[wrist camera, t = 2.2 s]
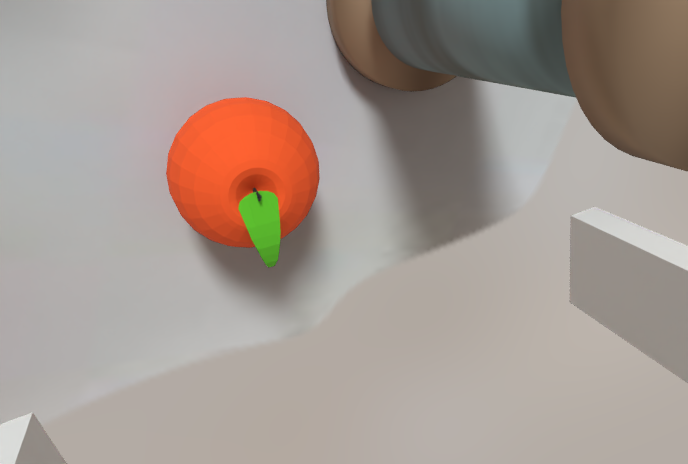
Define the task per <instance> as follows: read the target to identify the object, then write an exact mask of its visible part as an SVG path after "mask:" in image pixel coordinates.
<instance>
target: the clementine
mask: <svg viewBox="0 0 688 464" xmlns="http://www.w3.org/2000/svg"><path fill="white" fill-rule="evenodd" d="M166 175H167V180H168V185H169V191H170V194H171V196H172V198H173V200H174V202H175V204H176V206H177V208H178V210H179V212H180V214H181V216H182V217H183V218H184V219H185V220H186V221H187V222H188V223H189V224H190V226H191V227H192V228H193V229H194V230H195V231H197V232H199V233H200V234H202V235H203V236H205V237H206V238H208V239H210V240H212V241H215V242H218V243H221V244H224V245H227V246H234V247H249V248H250V247H256V248H257V250H258V252H259V254H260V256H261V258H262V259H263V261H264V263H265V264H266V265H267V266H268V268H269V267H272V266H275V264H276V262H277V261H278V256H279V248H280V239H281V238H283V237H285V236H286V235H287V234H289V233H290V232H291V231H293V230H294V229H295V228H296V227H297V226H298V225H299V224H300V223H301V222H302V220H303V219H304V218H305V217H306V216H307V214H308V212H309V210H310V208H311V206H312V204H313V201H314V199H315V197H316V193H317V188H318V184H319V161H318V158H317V155H316V152H315V149H314V146H313V143H312V141H311V140H310V138H309V136H308V135H307V133H306V132H305V130H304V129H303V127H302V126H301V124H300V123H299V122H298V121H297V120H296V119H295V118H293V117H292V116H291V115H290V114H289V113H288V112H287V111H285V110H284V109H282V108H280V107H278V106H276V105H273V104H271V103H269V102H267V101H263V100H257V99H252V98H231V99H223V100H220V101H218V102H215V103H212V104H209V105H207V106H205V107H203V108H202V109H201V110H199V111H198V112H196V113H195V114H194V115H192V116H191V117H190V118H189V119H188V120H187V122H186V123H185V124H184V125H183V127H182V128H181V129H180V130H179V132H178V133H177V134H176V136H175V139H174V141H173V144H172V146H171V149H170V151H169V153H168V162H167V172H166Z"/></svg>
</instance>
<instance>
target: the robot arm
mask: <svg viewBox="0 0 688 464" xmlns="http://www.w3.org/2000/svg"><path fill="white" fill-rule="evenodd" d="M570 234H571V235H570V303H571V304H573V305H574V306H576V307H577V308H579V309H580V310H582V311H583V312H585V313H586V314H588V315H589V316H591V317H592V318H594V319H595V320H596V321H598V322H599V323H601V324H602V325H604V326H605V327H607V328H608V329H609V330H611V331H612V332H614V333H615V334H617V335H618V336H620V337H621V338H622V339H624V340H625V341H627V342H629V343H630V344H631V345H633V346H634V347H636V348H637V349H639V350H640V351H641V352H643V353H644V354H646V355H647V356H649V357H650V358H652V359H653V360H655V361H656V362H657V363H659V364H660V365H662V366H663V367H665V368H666V369H668V370H669V371H671V372H672V373H674V374H675V375H677V376H678V377H679V378H681V379H682V380H684V381H685V382H687V383H688V246H687V245H684V244H681V243H680V242H677V241H675V240H672V239H670V238H667V237H665V236H663V235H661V234H658V233H656V232H654V231H651V230H649V229H646V228H644V227H642V226H639V225H637V224H635V223H632V222H630V221H628V220H625V219H623V218H620V217H618V216H616V215H613V214H611V213H608V212H606V211H604V210H602V209H599V208H597V207H593V208H590V209H587V210H585V211H582V212H579V213H577V214H574V215H571V228H570ZM0 464H67V463H66V462H65V460H64V459H63V457H62V456H61V454H60V453H59V451H58V450H57V448H56V447H55V445H54V444H53V442H52V441H51V439H50V438H49V436H48V435H47V433H46V432H45V430H44V429H43V427H42V426H41V424H40V423H39V421H38V420H37V418H36V417H35V415H34V414H33V412H32V413H30V414H27V415H24V416H21V417H19V418H16V419H13V420H10V421H8V422H5V423H2V424H0Z"/></svg>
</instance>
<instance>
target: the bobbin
mask: <svg viewBox="0 0 688 464" xmlns="http://www.w3.org/2000/svg"><path fill="white" fill-rule="evenodd" d="M326 2H327V12H328V19H329V23H330V27H331V31H332V33H333V36H334V39H335V41H336V43H337V45H338V47H339V49H340V51H341V52H342V54H343V55H344V57H345V58H346V60H347V61H348V62H349V63H350V64H351V65H352V66H353V67H354V69H355V70H357V71H358V72H359V73H360V74H362V75H363V76H364V77H366V78H368V79H369V80H371V81H373V82H375V83H378V84H380V85H383V86H387V87H390V88H394V89H398V90H402V91H423V90H428V89H432V88H435V87H438V86H441V85H443V84H444V83H446V82H448V81H450V80H452V79H453V78H454V77H456V76H460V77H466V78H471V79H477V80H482V81H488V82H493V83H499V84H504V85H510V86H516V87H521V88H527V89H532V90H538V91H543V92H549V93H554V94H560V95H565V96H571V97H576V98H577V100H578V102H579V105H580V107H581V109H582V111H583V112H584V114H585V116H586V117H587V118H588V120H589V122H590V123H591V125H592V126H593V127H594V128H595V129H596V131H597V132H598V133H599V134H600V135H601V136H602V137H603V138H604V139H605V140H606V141H608V142H609V143H610V144H612V145H613V146H614V147H616V148H617V149H619V150H621V151H623V152H625V153H628V154H629V155H632V156H635V157H638V158H642V159H645V160H649V161H652V162H656V163H660V164H663V165H666V166H670V167H674V168H677V169H681V170H684V171H688V0H326Z"/></svg>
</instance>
